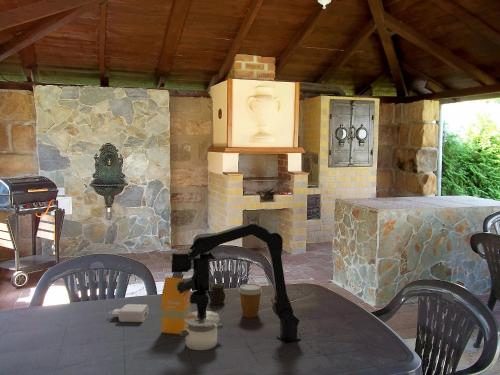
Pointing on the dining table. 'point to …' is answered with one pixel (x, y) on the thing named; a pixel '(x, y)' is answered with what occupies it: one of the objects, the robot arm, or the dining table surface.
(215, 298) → the mate gourd
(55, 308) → the dining table surface
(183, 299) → the orange juice
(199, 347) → the pot
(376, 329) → the dining table surface
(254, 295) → the disposable coffee cup
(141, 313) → the charger
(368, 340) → the dining table surface
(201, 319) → the lid
